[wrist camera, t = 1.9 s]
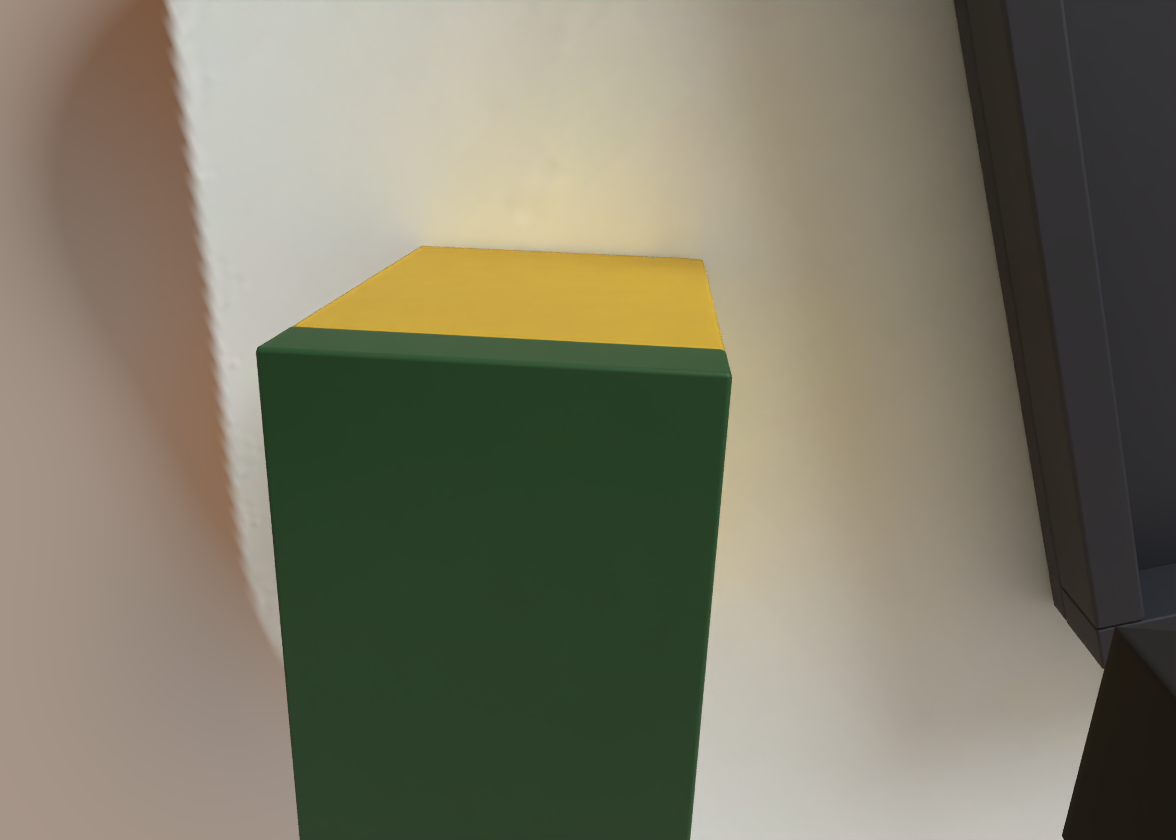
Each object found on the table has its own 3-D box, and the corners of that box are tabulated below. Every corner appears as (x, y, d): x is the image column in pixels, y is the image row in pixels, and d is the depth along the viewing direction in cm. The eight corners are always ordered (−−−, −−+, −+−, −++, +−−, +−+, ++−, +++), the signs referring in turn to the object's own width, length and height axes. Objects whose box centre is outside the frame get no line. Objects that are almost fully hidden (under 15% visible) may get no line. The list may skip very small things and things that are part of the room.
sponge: (419, 245, 16) (253, 347, 10) (703, 258, 16) (732, 373, 9) (429, 593, 19) (300, 867, 12) (677, 611, 18) (684, 901, 12)
